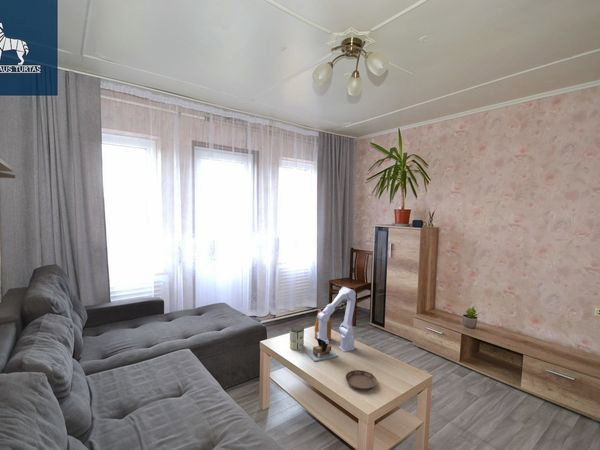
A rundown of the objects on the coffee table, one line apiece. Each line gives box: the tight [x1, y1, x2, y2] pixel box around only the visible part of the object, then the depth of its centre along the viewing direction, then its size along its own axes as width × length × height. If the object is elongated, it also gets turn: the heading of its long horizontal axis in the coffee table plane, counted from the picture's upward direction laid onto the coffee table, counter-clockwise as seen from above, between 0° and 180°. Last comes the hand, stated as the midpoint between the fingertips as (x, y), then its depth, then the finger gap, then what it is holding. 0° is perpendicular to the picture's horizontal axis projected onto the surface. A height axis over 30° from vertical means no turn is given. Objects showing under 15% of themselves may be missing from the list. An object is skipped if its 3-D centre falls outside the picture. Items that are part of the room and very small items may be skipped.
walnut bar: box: [312, 343, 332, 357], centre depth 192 cm, size 12×4×5 cm, turn 114°
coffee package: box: [314, 309, 333, 341], centre depth 217 cm, size 10×12×22 cm
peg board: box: [306, 348, 339, 363], centre depth 192 cm, size 18×12×4 cm, turn 113°
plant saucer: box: [345, 369, 378, 392], centre depth 162 cm, size 18×18×3 cm
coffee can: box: [289, 324, 305, 351], centre depth 203 cm, size 10×10×14 cm
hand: (322, 349), depth 192 cm, fingers open, 4 cm apart
